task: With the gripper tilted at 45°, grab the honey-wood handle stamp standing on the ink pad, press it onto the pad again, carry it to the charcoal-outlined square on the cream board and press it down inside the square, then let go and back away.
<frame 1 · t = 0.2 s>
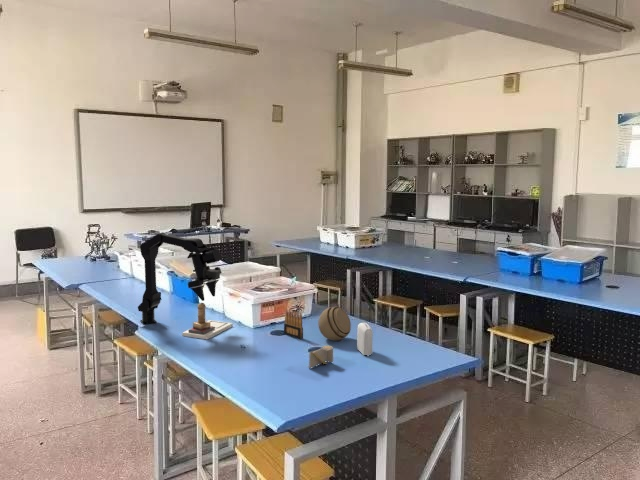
hand: (208, 298, 253), 15 cm above the table, tool tilted 15°, fingers open, 9 cm apart
model: (321, 367, 212), on the table
stamping board: (208, 330, 254), on the table
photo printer: (364, 353, 229), on the table
ink pad: (201, 330, 249), resting on stamping board
brown grooved ball: (334, 340, 245), on the table
ammunition clip: (293, 336, 249), on the table
stamp: (201, 328, 249), point 3 cm above the table, touching ink pad
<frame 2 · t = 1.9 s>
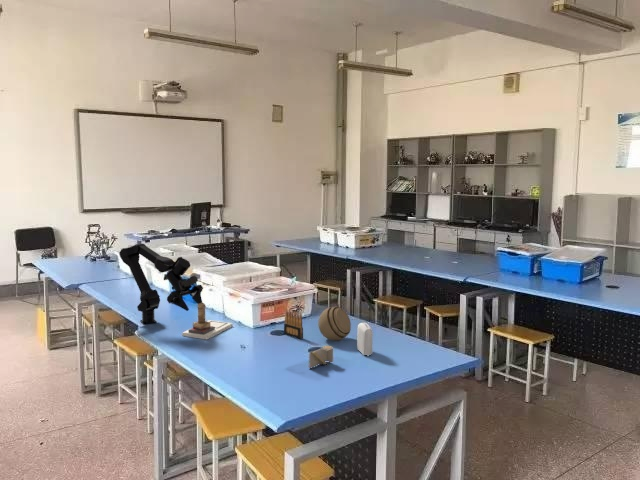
hand: (195, 308, 250), 12 cm above the table, tool tilted 45°, fingers open, 9 cm apart
nothing on the table moved.
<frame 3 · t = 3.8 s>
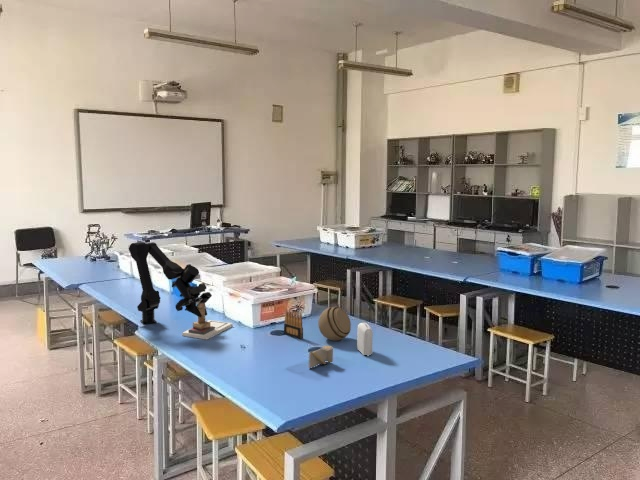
hand: (203, 316, 247), 9 cm above the table, tool tilted 45°, fingers closed on stamp, 3 cm apart
stamp: (201, 328, 249), point 3 cm above the table, touching gripper, ink pad
everything else where it was.
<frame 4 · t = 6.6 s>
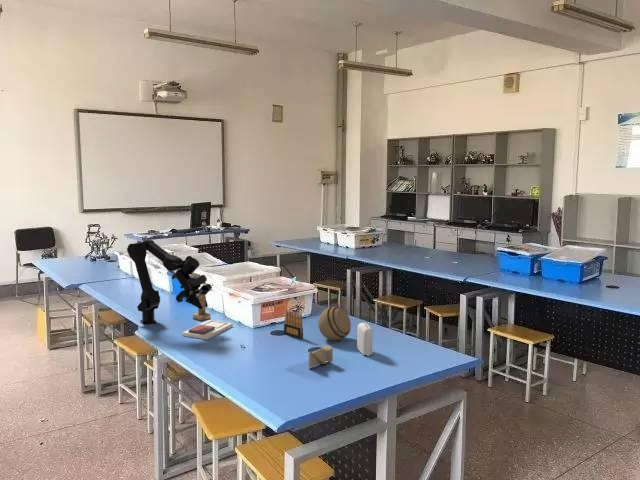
hand: (204, 307, 247), 12 cm above the table, tool tilted 45°, fingers closed on stamp, 3 cm apart
stamp: (201, 319, 249), point 7 cm above the table, touching gripper
everything else where it was.
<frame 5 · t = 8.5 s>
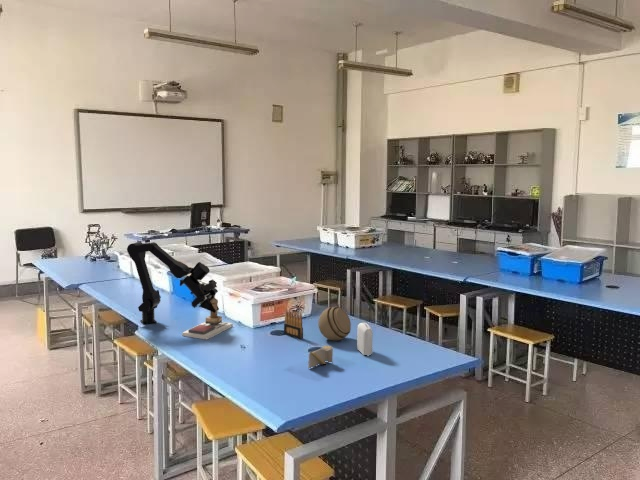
hand: (216, 310, 258), 8 cm above the table, tool tilted 45°, fingers closed on stamp, 3 cm apart
stamp: (213, 322, 259), point 2 cm above the table, touching gripper
everything else where it was.
when the fingers open (7 cm above the table, at t = 9.8 s): stamp stays where it is, resting on stamping board.
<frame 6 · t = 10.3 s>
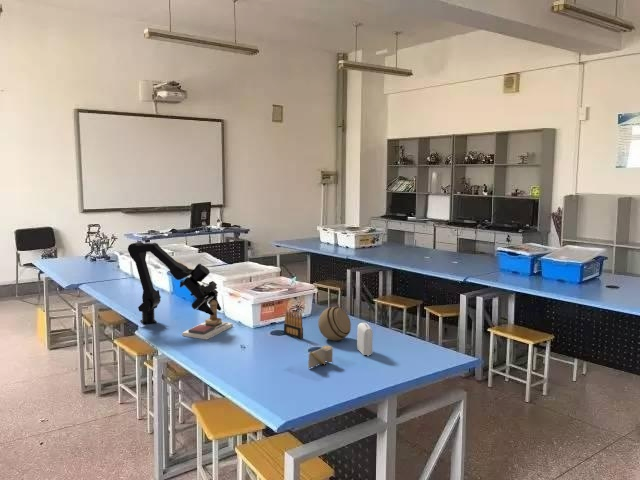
hand: (217, 312, 258), 8 cm above the table, tool tilted 45°, fingers open, 8 cm apart
stamp: (213, 324, 259), point 1 cm above the table, touching stamping board
everything else where it was.
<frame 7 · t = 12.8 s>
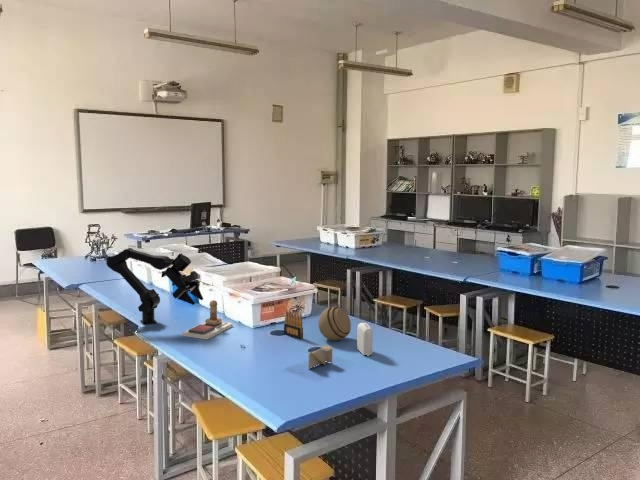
hand: (198, 301, 259), 12 cm above the table, tool tilted 45°, fingers open, 9 cm apart
nothing on the table moved.
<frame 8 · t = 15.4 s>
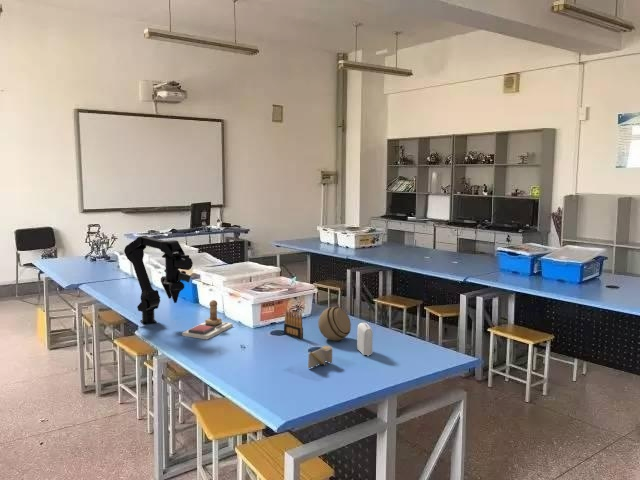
hand: (172, 300, 257), 13 cm above the table, tool pointing down, fingers open, 9 cm apart
nothing on the table moved.
at the end: stamp 0.4 cm from the target spot, point 1.5 cm above the table; stamp tilted 0°; the gripper is holding nothing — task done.
